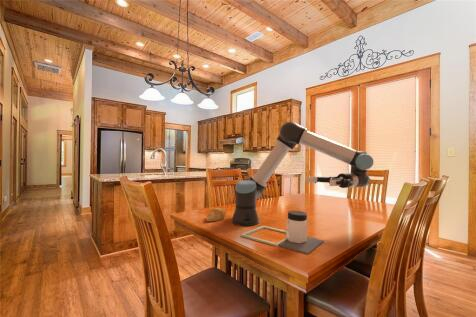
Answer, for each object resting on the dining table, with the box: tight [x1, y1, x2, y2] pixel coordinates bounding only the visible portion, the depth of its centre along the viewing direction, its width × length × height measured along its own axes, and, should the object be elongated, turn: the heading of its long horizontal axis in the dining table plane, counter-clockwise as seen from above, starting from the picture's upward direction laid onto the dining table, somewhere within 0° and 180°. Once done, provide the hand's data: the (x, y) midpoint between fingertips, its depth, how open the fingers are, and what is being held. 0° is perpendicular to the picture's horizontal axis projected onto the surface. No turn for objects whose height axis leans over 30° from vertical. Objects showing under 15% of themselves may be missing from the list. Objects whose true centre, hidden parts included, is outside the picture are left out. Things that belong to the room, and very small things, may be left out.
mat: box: [279, 236, 325, 255], centre depth 97 cm, size 12×18×1 cm, turn 141°
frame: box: [240, 225, 288, 248], centre depth 108 cm, size 19×19×1 cm
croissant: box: [205, 207, 227, 222], centre depth 138 cm, size 21×10×8 cm, turn 157°
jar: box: [285, 210, 308, 243], centre depth 101 cm, size 9×8×12 cm
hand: (318, 181), depth 109 cm, fingers open, 13 cm apart
